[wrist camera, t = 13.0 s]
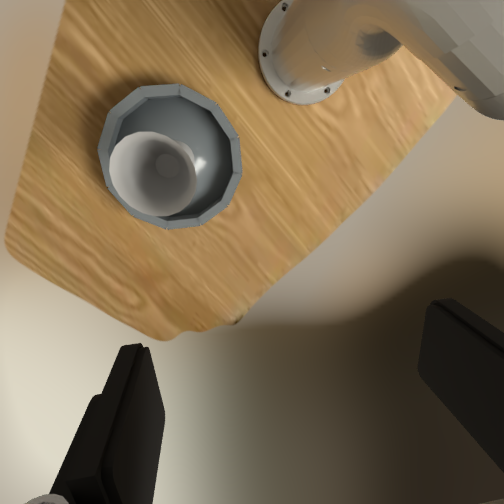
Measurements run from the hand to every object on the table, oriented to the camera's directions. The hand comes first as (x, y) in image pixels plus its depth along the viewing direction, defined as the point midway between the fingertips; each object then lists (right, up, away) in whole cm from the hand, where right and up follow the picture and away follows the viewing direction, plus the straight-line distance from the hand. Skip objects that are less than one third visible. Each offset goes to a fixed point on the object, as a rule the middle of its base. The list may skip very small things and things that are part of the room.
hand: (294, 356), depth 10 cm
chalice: (-12, +16, +33) cm, 38 cm away
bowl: (-12, +16, +33) cm, 39 cm away
